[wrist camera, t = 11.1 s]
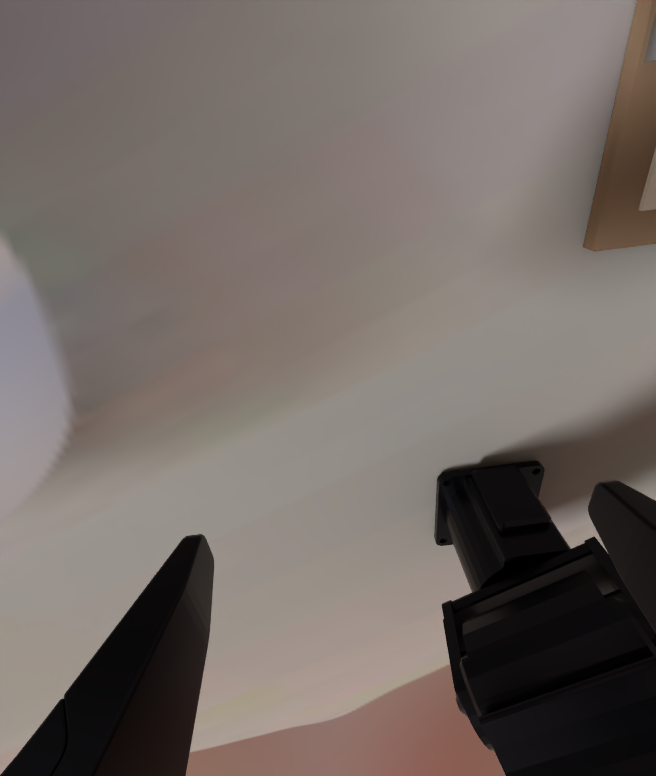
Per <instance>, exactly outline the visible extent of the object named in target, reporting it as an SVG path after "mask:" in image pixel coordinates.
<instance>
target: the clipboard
mask: <svg viewBox="0 0 656 776" xmlns="http://www.w3.org/2000/svg"><path fill="white" fill-rule="evenodd" d="M648 244H656V0H637V3H636V7H635V12H634V17H633V21H632V26H631V30H630V35H629V39H628V44H627V49H626V53H625V58H624V62H623V67H622V71H621V76H620V81H619V85H618V90H617V94H616V99H615V103H614V108H613V113H612V117H611V122H610V126H609V131H608V135H607V140H606V145H605V149H604V154H603V158H602V163H601V167H600V172H599V177H598V181H597V186H596V190H595V195H594V199H593V204H592V209H591V213H590V218H589V222H588V227H587V231H586V236H585V241H584V245H583V247H584V248H587V249H589V250H592V251H602V250H609V249H617V248H625V247H633V246H641V245H648Z"/></svg>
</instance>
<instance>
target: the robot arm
mask: <svg viewBox="0 0 656 776" xmlns="http://www.w3.org/2000/svg"><path fill="white" fill-rule="evenodd" d="M534 469H535V470H534ZM543 475H544V467H543V466H542V465H541V463H540V462H538V461H531V462H524V463H516V464H508V465H501V466H493V467H485V468H477V469H470V470H462V471H454V472H446V473H442V474H441V475H439V476H438V478H437V492H436V513H435V534H434V538H435V541H436V544H437V545H440V546H444V545H452V544H454V547H455V549H456V552H457V554H458V557H459V560H460V562H461V565H462V567H463V570H464V572H465V575H466V578H467V580H468V583H469V585H470V588H471V591H472V593H470V594H468V595H466V596H463V597H461V598H459V599H457V600H454V601H451V600H450V601H447V602H445V603H443V604H442V609H443V615H444V619H443V623H444V629H445V635H446V641H447V647H448V653H449V659H450V665H451V670H452V677H453V683H454V688H455V692H456V701H457V704H458V707H459V709H460V711H461V712H462V713H463V714H465V715H466V716H468V718H469V720H470V722H471V724H472V726H473V728H474V730H475V731H476V733H477V735H478V736H479V738H480V739H481V741H482V742H483V743H484V745H485V746H486V747H487V748H488V749H490V750H494V751H495V753H496V755H497V757H498V759H499V762H500V764H501V766H502V768H503V770H504V772H505V775H506V776H656V501H655V500H653V499H651V498H649V497H647V496H646V495H644V494H642V493H640V492H638V491H636V490H635V489H633V488H631V487H629V486H627V485H625V484H623V483H622V482H619V481H615V480H612V481H604V482H599V483H597V484H596V485H595V488H594V491H593V494H592V497H591V500H590V503H589V506H588V512H589V516H590V518H591V520H592V522H593V524H594V526H595V528H596V530H597V532H598V534H599V536H600V538H601V540H602V542H603V544H604V546H605V548H606V550H607V552H608V553H607V552H606V550H605V549H604V548H603V547H602V545H601V544H600V543H599V542H598V540H597V539H596V538H595V537H592V538H590V539H588V540H585V541H584V542H585V543H584V544H581V545H579V546H577V547H575V548H572V549H570V547H569V546H568V544H567V543H566V541H565V540H564V538H563V536H562V535H561V533H560V532H559V530H558V529H557V527H556V526H555V524H554V523H553V521H552V520H551V517H550V515H549V514H548V512H547V511H546V509H545V508H544V506H543V505H542V503H541V502H540V500H539V499H538V496H539V491H540V487H541V483H542V479H543ZM446 480H447V481H446ZM444 481H445V482H444ZM213 576H214V558H213V555H212V552H211V550H210V547H209V545H208V543H207V540H206V538H205V536H204V535H202V534H198V535H191V536H186V537H185V538H183V539H182V541H181V542H180V543H179V545H178V546H177V547H176V549H175V550H174V551H173V552H172V554H171V555H170V556H169V558H168V559H167V560H166V562H165V563H164V564H163V566H162V567H161V568H160V570H159V571H158V572H157V573H156V575H155V576H154V577H153V579H152V580H151V581H150V583H149V584H148V585H147V587H146V588H145V589H144V591H143V592H142V593H141V595H140V596H139V597H138V598H137V600H136V601H135V602H134V604H133V605H132V606H131V608H130V609H129V610H128V612H127V613H126V614H125V616H124V617H123V618H122V619H121V621H120V622H119V623H118V625H117V626H116V627H115V629H114V630H113V631H112V633H111V634H110V635H109V637H108V638H107V639H106V640H105V642H104V643H103V644H102V646H101V647H100V648H99V650H98V651H97V652H96V654H95V655H94V656H93V658H92V659H91V660H90V661H89V663H88V664H87V665H86V667H85V668H84V669H83V671H82V672H81V673H80V675H79V676H78V677H77V679H76V680H75V681H74V683H73V684H72V685H71V686H70V688H69V689H68V690H67V692H66V693H65V694H64V699H61V700H60V701H59V702H58V703H57V705H56V706H55V707H54V709H53V710H52V711H51V712H50V714H49V715H48V716H47V718H46V719H45V720H44V722H43V723H42V724H41V725H40V727H39V728H38V729H37V731H36V732H35V733H34V734H33V736H32V737H31V738H30V739H29V741H28V742H27V743H26V744H25V746H24V747H23V748H22V750H21V751H20V752H19V753H18V755H17V756H16V757H15V758H14V759H13V761H12V762H11V763H10V764H9V765H8V766H7V768H6V769H5V770H4V771H3V772H2V774H1V775H0V776H186V769H187V764H188V758H189V752H190V747H191V741H192V735H193V729H194V723H195V718H196V712H197V706H198V700H199V694H200V689H201V683H202V677H203V671H204V665H205V660H206V654H207V648H208V641H209V634H210V622H211V606H212V591H213Z"/></svg>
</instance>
